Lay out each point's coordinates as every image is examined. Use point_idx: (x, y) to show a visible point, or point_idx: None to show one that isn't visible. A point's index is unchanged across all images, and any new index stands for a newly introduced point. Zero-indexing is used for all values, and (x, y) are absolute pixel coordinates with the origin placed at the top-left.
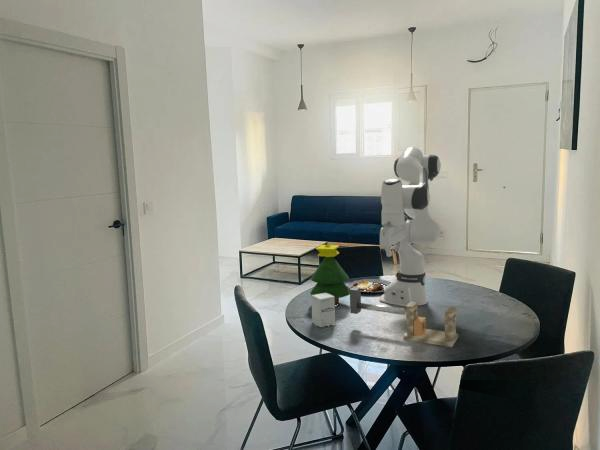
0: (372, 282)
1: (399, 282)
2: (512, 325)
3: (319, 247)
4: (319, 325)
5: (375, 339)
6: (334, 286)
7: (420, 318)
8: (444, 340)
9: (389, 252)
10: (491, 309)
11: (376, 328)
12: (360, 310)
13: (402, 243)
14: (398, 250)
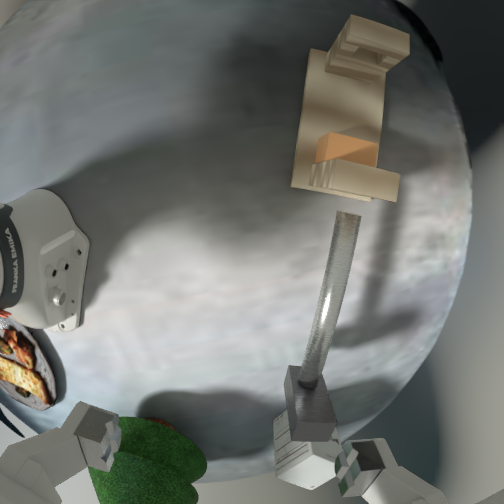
0: None
1: (25, 293)
2: None
3: None
4: None
5: (383, 277)
6: (169, 467)
7: (344, 149)
8: (374, 85)
9: (391, 472)
10: (65, 22)
11: (302, 295)
12: (293, 367)
13: None
14: (115, 421)
